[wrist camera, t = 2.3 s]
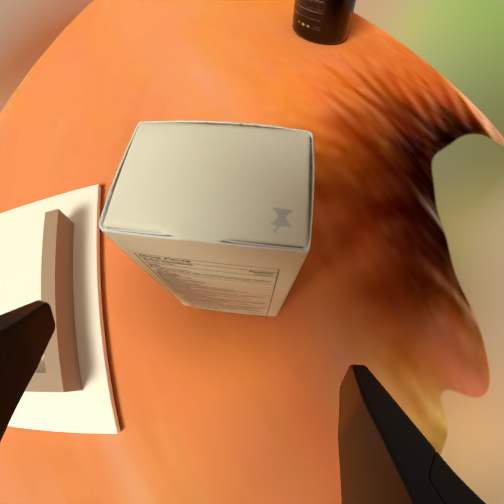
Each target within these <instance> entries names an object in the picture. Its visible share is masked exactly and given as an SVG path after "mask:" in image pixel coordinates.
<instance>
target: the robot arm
mask: <svg viewBox="0 0 504 504" xmlns="http://www.w3.org/2000/svg"><path fill="white" fill-rule="evenodd" d="M54 331H55V321H54V317H53V313H52V310H51V306H50V305H49V303H47V302H44V301H41V300H37V301H34V302H32V303H29V304H27V305H24V306H22V307H19V308H17V309H14V310H12V311H9V312H7V313H4V314H2V315H0V441H1V439H2V437H3V435H4V432H5V430H6V428H7V426H8V424H9V422H10V420H11V418H12V415H13V413H14V411H15V409H16V407H17V405H18V403H19V401H20V399H21V398H22V396H23V394H24V392H25V390H26V388H27V386H28V384H29V382H30V381H31V379H32V377H33V375H34V373H35V371H36V369H37V368H38V365H39V363H40V361H41V359H42V357H43V354H44V352H45V350H46V348H47V346H48V343H49V341H50V339H51V337H52V335H53V333H54ZM338 445H339V459H340V476H341V496H342V504H486V503H485V502H483V501H482V500H481V499H480V498H479V497H478V496H477V495H476V494H475V493H474V492H473V491H472V490H471V489H470V488H469V487H468V486H467V485H466V484H465V483H464V482H463V481H462V480H461V479H460V478H459V477H458V476H457V475H456V474H455V472H454V471H453V470H452V469H451V468H450V467H449V466H448V465H447V463H446V462H445V461H444V460H443V458H442V457H441V456H440V455H439V454H438V452H435V449H434V448H433V446H432V445H431V444H430V443H429V442H428V440H427V439H426V438H425V437H424V435H423V434H422V433H421V432H420V431H419V429H418V428H417V427H416V426H415V425H414V423H413V422H412V421H411V420H410V418H409V417H408V416H407V415H406V414H405V412H404V411H403V410H402V409H401V408H400V406H399V405H398V404H397V403H396V402H395V400H394V399H393V398H392V397H391V396H390V394H389V393H388V392H387V391H386V390H385V388H384V387H383V386H382V385H381V384H380V382H379V381H378V380H377V379H376V378H375V377H374V375H373V374H372V373H371V372H370V371H369V369H368V368H367V367H366V366H364V365H354V364H353V365H351V366H350V367H349V368H348V370H347V373H346V375H345V377H344V379H343V381H342V383H341V386H340V396H339V426H338Z"/></svg>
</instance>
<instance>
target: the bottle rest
mask: <svg viewBox="0 0 504 504" xmlns="http://www.w3.org/2000/svg"><path fill="white" fill-rule="evenodd" d="M100 201H101V187H100V186H99V184H97V185H93V186H89V187H85V188H82V189H78V190H74V191H71V192H67V193H64V194H60V195H57V196H53V197H50V198H47V199H43V200H40V201H37V202H34V203H31V204H27V205H24V206H21V207H18V208H15V209H12V210H9V211H6V212H4V213H1V214H0V315H2V314H4V313H7V312H9V311H12V310H14V309H17V308H19V307H22V306H24V305H27V304H29V303H32V302H34V301H37V300H41V301H44V302H47V303H49V305H50V306H51V310H52V313H53V317H54V321H55V331H54V333H53V335H52V337H51V339H50V341H49V343H48V346H47V348H46V350H45V352H44V354H43V357H42V359H41V361H40V363H39V365H38V368H37V369H36V371H35V373H34V375H33V377H32V379H31V381H30V382H29V384H28V386H27V388H26V390H25V392H24V394H23V396H22V398H21V399H20V401H19V403H18V405H17V407H16V409H15V411H14V413H13V415H12V418H11V420H10V422H9V424H8V426H12V427H19V428H27V429H35V430H45V431H57V432H72V433H104V434H117V433H119V432H121V430H120V426H119V421H118V416H117V412H116V406H115V401H114V396H113V390H112V384H111V378H110V371H109V364H108V357H107V349H106V341H105V331H104V321H103V309H102V295H101V275H100V228H99V220H100Z"/></svg>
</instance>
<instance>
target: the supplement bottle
mask: <svg viewBox="0 0 504 504" xmlns="http://www.w3.org/2000/svg"><path fill="white" fill-rule="evenodd" d="M355 2H356V0H295V4H294V13H293V24H292V26H293V29H294V31H295V32H296V34H298V35H299V36H300V37H302V38H304V39H306V40H308V41H311V42H314V43H319V44H327V45H332V44H338V43H341V42H343V41H344V40H345V39H346V37H347V34H348V31H349V27H350V23H351V19H352V15H353V11H354V6H355Z"/></svg>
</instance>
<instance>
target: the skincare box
mask: <svg viewBox="0 0 504 504" xmlns="http://www.w3.org/2000/svg"><path fill="white" fill-rule="evenodd" d="M313 202H314V137H313V134H312V133H311V132H309V131H306V130H298V129H293V128H286V127H278V126H270V125H261V124H250V123H236V122H220V121H149V122H139V123H138V125H137V127H136V129H135V131H134V133H133V136H132V138H131V140H130V142H129V144H128V146H127V148H126V151H125V153H124V155H123V158H122V160H121V162H120V164H119V167H118V169H117V172H116V175H115V178H114V180H113V183H112V185H111V188H110V190H109V193H108V196H107V199H106V202H105V205H104V208H103V211H102V214H101V217H100V220H99V228H100V229H101V230H102V232H103V233H104V234H105V235H106V236H107V237H108V238H110V239H111V240H112V241H113V242H114V243H115V244H116V245H117V246H118V247H119V248H120V249H121V250H122V251H124V252H125V253H126V254H127V255H128V256H129V257H130V258H131V259H132V260H133V261H134V262H136V263H137V264H138V265H139V266H140V267H141V268H142V269H143V270H144V271H145V272H147V273H148V274H149V275H150V276H151V277H152V278H153V279H154V280H156V281H157V282H158V283H159V284H160V285H161V286H162V287H164V288H165V289H166V290H167V291H168V292H169V293H171V294H172V295H173V296H174V297H175V298H176V299H177V300H179V301H180V302H181V303H182V304H183V305H185V306H190V307H195V308H201V309H208V310H214V311H221V312H230V313H238V314H248V315H259V316H277V315H278V313H279V311H280V309H281V307H282V305H283V303H284V301H285V299H286V297H287V295H288V293H289V291H290V289H291V287H292V285H293V283H294V281H295V279H296V277H297V275H298V273H299V271H300V268H301V266H302V264H303V262H304V260H305V258H306V256H307V255H308V252H309V250H310V246H311V231H312V219H313Z"/></svg>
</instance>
